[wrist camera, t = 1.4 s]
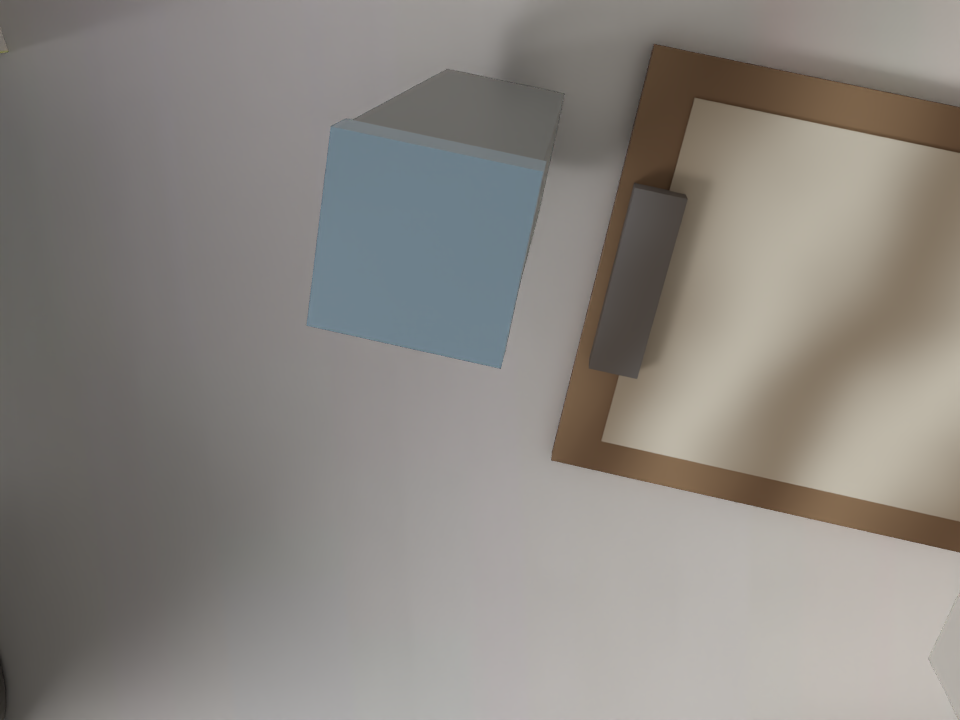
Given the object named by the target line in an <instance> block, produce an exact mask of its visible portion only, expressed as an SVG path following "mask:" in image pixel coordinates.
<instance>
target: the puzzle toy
mask: <svg viewBox="0 0 960 720" xmlns="http://www.w3.org/2000/svg"><path fill="white" fill-rule="evenodd" d="M6 52H8V49H7V46H6V43H5V40H4V37H3V34H2V31H1V27H0V53H6Z"/></svg>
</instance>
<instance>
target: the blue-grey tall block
mask: <svg viewBox="0 0 960 720" xmlns="http://www.w3.org/2000/svg"><path fill="white" fill-rule="evenodd" d="M564 95H565V94H564V93H559V92H555V91H550V90H545V89H540V88H536V87H531V86H526V85H521V84H517V83H512V82H507V81H502V80H498V79H493V78H488V77H483V76H478V75H474V74H469V73H464V72H459V71H455V70H450V69H446V70H444V71H442V72H440V73H439V74H437V75H435V76H433V77H431V78H429V79H427V80H426V81H424V82H422V83H420V84H418V85H416V86H414V87H412V88H411V89H409V90H407V91H405V92H403V93H401V94H399V95H398V96H396V97H394V98H392V99H390V100H388V101H386V102H385V103H383V104H381V105H379V106H377V107H375V108H373V109H372V110H370V111H368V112H366V113H364V114H362V115H360V116H359V117H357V118H355V119H353V120H351V119H344V120H342V121H340V122H338V123H336V124H335V125H333V126H331V129H330V138H329V146H328V154H327V162H326V170H325V179H324V187H323V195H322V203H321V211H320V219H319V228H318V236H317V244H316V252H315V260H314V269H313V277H312V285H311V293H310V301H309V310H308V318H307V326H311V327H315V328H320V329H324V330H329V331H333V332H338V333H342V334H347V335H351V336H356V337H360V338H365V339H369V340H374V341H378V342H383V343H387V344H392V345H396V346H401V347H405V348H410V349H414V350H419V351H423V352H428V353H432V354H437V355H441V356H446V357H450V358H455V359H459V360H464V361H468V362H473V363H477V364H482V365H486V366H491V367H495V368H500V369H501V366H502V362H503V358H504V354H505V350H506V346H507V341H508V337H509V332H510V327H511V323H512V318H513V314H514V309H515V304H516V300H517V295H518V290H519V286H520V282H521V279H522V275H523V271H524V267H525V263H526V260H527V256H528V252H529V248H530V244H531V240H532V237H533V233H534V229H535V225H536V221H537V218H538V214H539V210H540V205H541V201H542V196H543V192H544V187H545V182H546V178H547V173H548V169H549V164H550V159H551V155H552V150H553V146H554V141H555V136H556V132H557V127H558V123H559V118H560V114H561V109H562V104H563V100H564Z"/></svg>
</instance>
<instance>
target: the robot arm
mask: <svg viewBox="0 0 960 720" xmlns="http://www.w3.org/2000/svg"><path fill="white" fill-rule="evenodd" d="M928 659H929V661H930V663H931V665H932V667H933V669H934V671H935V673H936V675H937V677H938V679H939V681H940V683H941V685H942V687H943V689H944V691H945V693H946V695H947V697H948V699H949V701H950V703H951V705H952V707H953V709H954V711H955V713H956V715H957V717H958V719H959V720H960V592H959V594H958V596H957V598H956V601H955V603H954V605H953V607H952V609H951V611H950V613H949V615H948V618H947V620H946V622H945V624H944V626H943V628H942V630H941V632H940V635H939V637H938V639H937V641H936V643H935V645H934V647H933V649H932V651H931V654H930V656H929V658H928ZM5 705H6V695H5V684H4V678H3V674H2V670H1V666H0V720H4V715H5Z"/></svg>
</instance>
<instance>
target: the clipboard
mask: <svg viewBox="0 0 960 720" xmlns="http://www.w3.org/2000/svg"><path fill="white" fill-rule="evenodd" d="M551 460H552V461H557V462H561V463H566V464H570V465H574V466H579V467H583V468H588V469H592V470H597V471H601V472H605V473H610V474H614V475H619V476H623V477H628V478H632V479H637V480H641V481H645V482H650V483H654V484H659V485H663V486H668V487H672V488H676V489H681V490H685V491H690V492H694V493H699V494H703V495H707V496H712V497H716V498H721V499H725V500H730V501H734V502H738V503H743V504H747V505H752V506H756V507H761V508H765V509H770V510H774V511H778V512H783V513H787V514H792V515H796V516H801V517H805V518H809V519H814V520H818V521H823V522H827V523H832V524H836V525H840V526H845V527H849V528H854V529H858V530H863V531H867V532H871V533H876V534H880V535H885V536H889V537H894V538H898V539H903V540H907V541H911V542H916V543H920V544H925V545H929V546H934V547H938V548H942V549H947V550H951V551H956V552H960V107H956V106H951V105H946V104H942V103H937V102H932V101H927V100H922V99H917V98H913V97H908V96H903V95H898V94H893V93H888V92H884V91H879V90H874V89H869V88H864V87H859V86H855V85H850V84H845V83H840V82H835V81H830V80H826V79H821V78H816V77H811V76H806V75H802V74H797V73H792V72H787V71H782V70H777V69H773V68H768V67H763V66H758V65H753V64H748V63H744V62H739V61H734V60H729V59H724V58H719V57H715V56H710V55H705V54H700V53H695V52H690V51H686V50H681V49H676V48H671V47H666V46H661V45H657V44H654V46H653V50H652V54H651V58H650V62H649V66H648V70H647V74H646V78H645V82H644V86H643V90H642V94H641V98H640V102H639V106H638V110H637V114H636V118H635V122H634V126H633V130H632V134H631V138H630V142H629V146H628V150H627V154H626V158H625V162H624V166H623V170H622V174H621V178H620V182H619V186H618V190H617V194H616V198H615V202H614V206H613V210H612V214H611V218H610V222H609V226H608V230H607V234H606V238H605V242H604V246H603V250H602V254H601V258H600V262H599V266H598V270H597V274H596V278H595V282H594V286H593V290H592V294H591V298H590V302H589V306H588V310H587V314H586V318H585V322H584V326H583V330H582V334H581V338H580V342H579V346H578V350H577V354H576V358H575V362H574V366H573V370H572V374H571V378H570V382H569V386H568V390H567V394H566V398H565V402H564V406H563V410H562V414H561V418H560V422H559V426H558V430H557V434H556V438H555V442H554V446H553V450H552V457H551Z"/></svg>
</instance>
